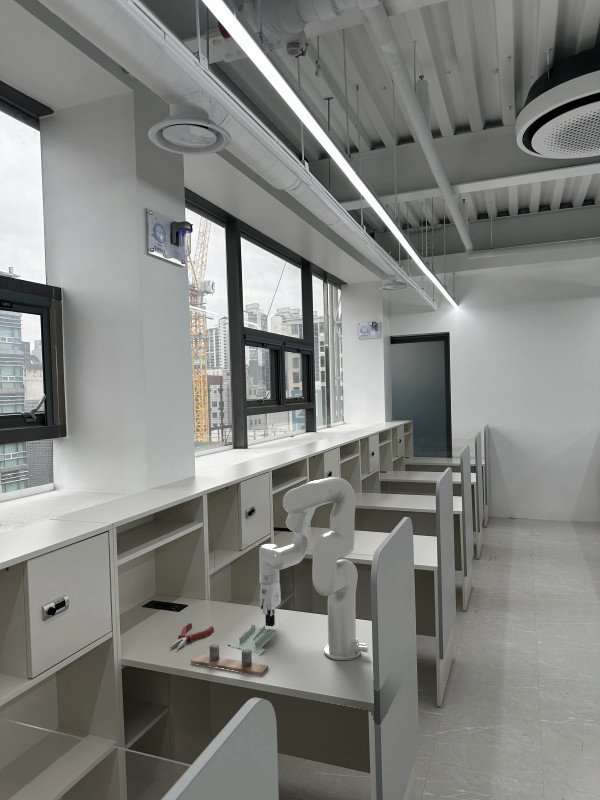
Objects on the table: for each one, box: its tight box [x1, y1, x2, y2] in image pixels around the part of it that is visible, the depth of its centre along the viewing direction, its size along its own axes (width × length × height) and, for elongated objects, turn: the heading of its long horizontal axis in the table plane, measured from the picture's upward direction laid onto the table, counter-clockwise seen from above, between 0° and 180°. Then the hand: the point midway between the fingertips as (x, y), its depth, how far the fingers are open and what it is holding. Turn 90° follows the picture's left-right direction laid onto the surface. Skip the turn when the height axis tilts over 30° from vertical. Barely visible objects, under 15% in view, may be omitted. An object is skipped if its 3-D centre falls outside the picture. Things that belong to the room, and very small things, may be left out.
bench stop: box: [190, 643, 270, 677], centre depth 183 cm, size 26×5×6 cm, turn 69°
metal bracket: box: [228, 624, 276, 656], centre depth 200 cm, size 14×6×15 cm
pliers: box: [169, 623, 215, 650], centre depth 205 cm, size 12×20×3 cm, turn 160°
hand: (270, 625), depth 213 cm, fingers closed
